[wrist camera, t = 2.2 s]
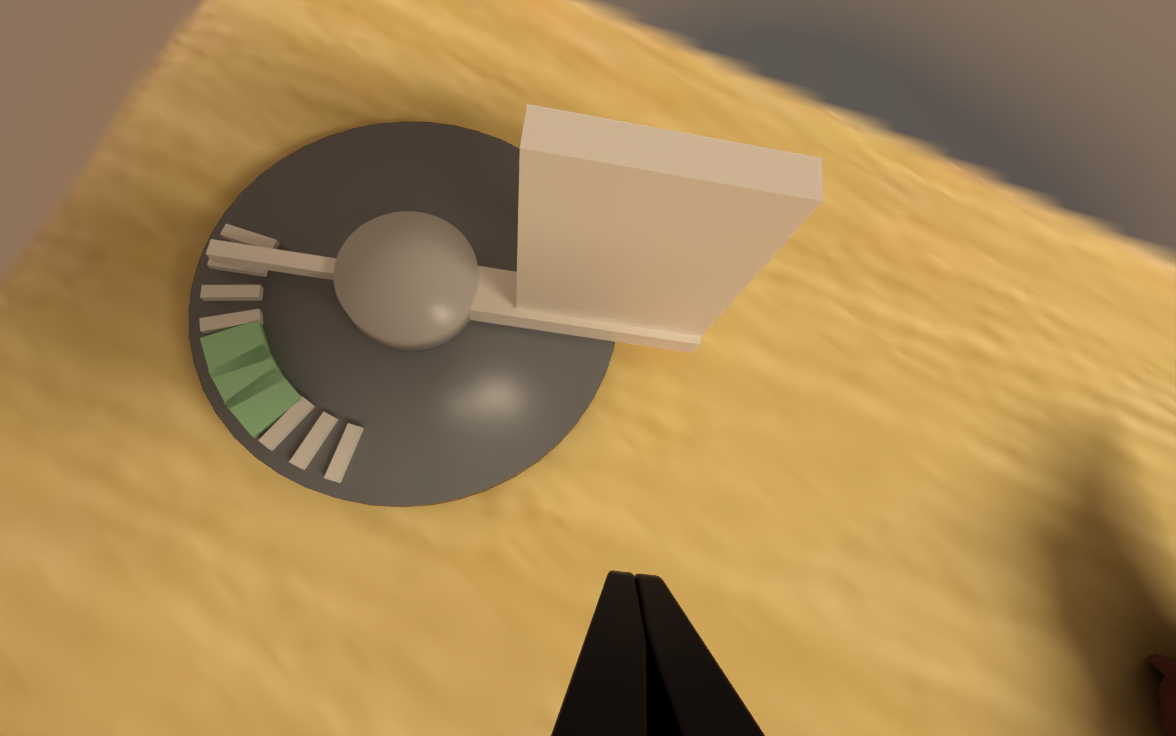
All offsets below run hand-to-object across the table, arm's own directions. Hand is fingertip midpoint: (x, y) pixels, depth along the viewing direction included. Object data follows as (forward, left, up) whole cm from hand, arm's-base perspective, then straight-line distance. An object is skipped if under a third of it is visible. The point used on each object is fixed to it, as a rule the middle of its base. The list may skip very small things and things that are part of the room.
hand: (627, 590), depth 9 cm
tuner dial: (+3, +11, -12) cm, 17 cm away
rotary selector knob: (+4, +10, -11) cm, 15 cm away
